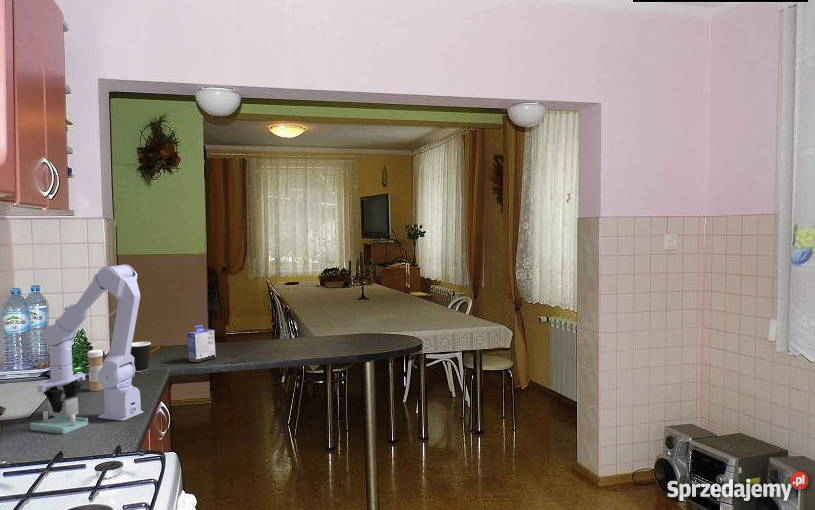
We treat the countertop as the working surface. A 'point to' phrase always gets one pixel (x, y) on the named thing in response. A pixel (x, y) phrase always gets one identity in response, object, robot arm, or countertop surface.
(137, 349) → the dixie cup
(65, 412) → the drive block
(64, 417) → the teal base with pegs
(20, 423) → the countertop surface
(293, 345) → the countertop surface
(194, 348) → the ink cartridge box
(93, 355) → the sprinkles bottle
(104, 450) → the countertop surface
